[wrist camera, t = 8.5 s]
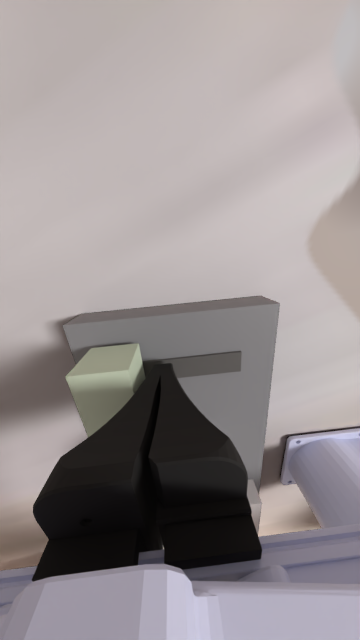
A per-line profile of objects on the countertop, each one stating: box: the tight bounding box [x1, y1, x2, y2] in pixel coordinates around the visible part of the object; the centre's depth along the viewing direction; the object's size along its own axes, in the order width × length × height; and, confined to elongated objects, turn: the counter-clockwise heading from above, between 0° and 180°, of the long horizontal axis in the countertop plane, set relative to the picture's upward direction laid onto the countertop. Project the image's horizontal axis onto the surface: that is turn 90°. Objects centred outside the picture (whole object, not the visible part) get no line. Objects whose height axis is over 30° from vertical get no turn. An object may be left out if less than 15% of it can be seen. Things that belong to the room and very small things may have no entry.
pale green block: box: [65, 343, 145, 437], centre depth 10 cm, size 3×5×3 cm, turn 5°
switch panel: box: [62, 296, 280, 534], centre depth 16 cm, size 14×26×4 cm, turn 5°
